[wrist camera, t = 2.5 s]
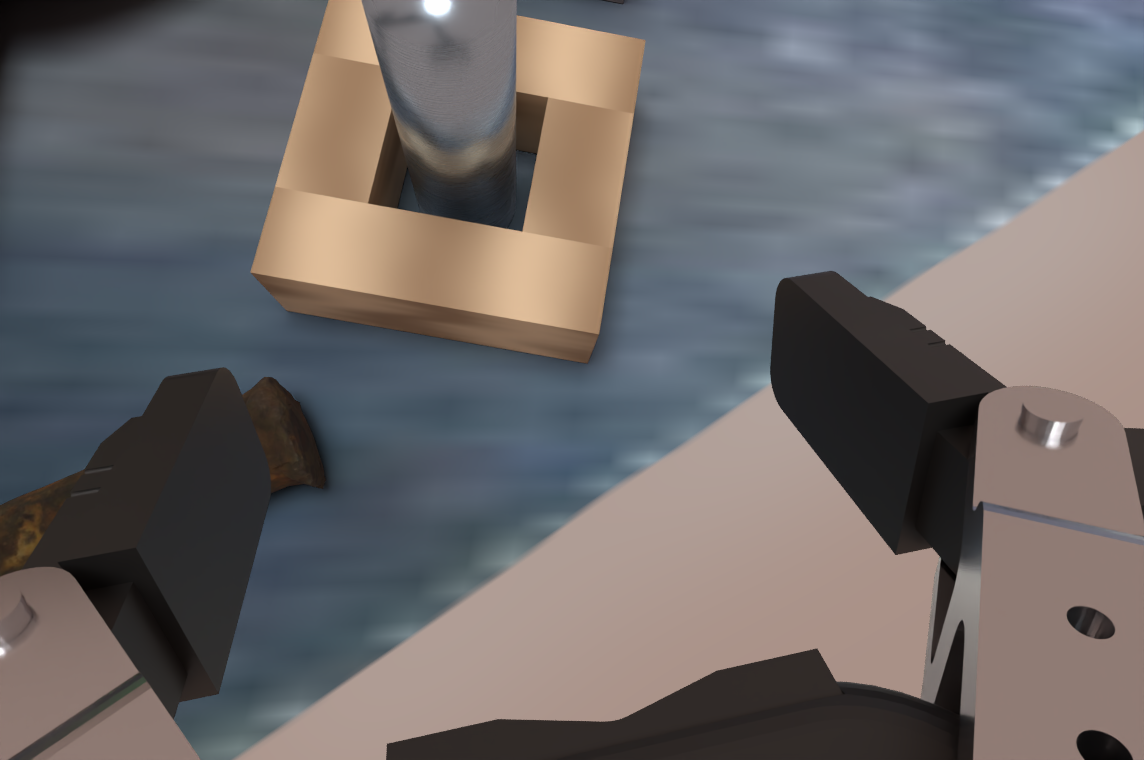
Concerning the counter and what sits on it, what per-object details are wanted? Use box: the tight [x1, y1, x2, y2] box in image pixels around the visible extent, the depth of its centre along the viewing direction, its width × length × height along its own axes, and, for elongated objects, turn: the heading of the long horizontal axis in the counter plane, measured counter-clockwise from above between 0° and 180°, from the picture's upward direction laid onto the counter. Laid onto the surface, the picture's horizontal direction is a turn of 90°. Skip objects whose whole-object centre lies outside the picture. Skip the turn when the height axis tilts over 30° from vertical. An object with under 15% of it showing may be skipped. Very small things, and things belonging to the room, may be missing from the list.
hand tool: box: [0, 377, 326, 577], centre depth 24 cm, size 19×4×5 cm, turn 113°
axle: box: [361, 0, 517, 229], centre depth 24 cm, size 4×4×12 cm
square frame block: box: [251, 0, 645, 364], centre depth 28 cm, size 12×12×4 cm
